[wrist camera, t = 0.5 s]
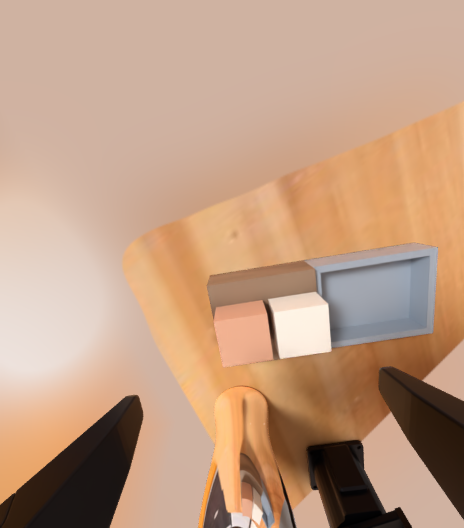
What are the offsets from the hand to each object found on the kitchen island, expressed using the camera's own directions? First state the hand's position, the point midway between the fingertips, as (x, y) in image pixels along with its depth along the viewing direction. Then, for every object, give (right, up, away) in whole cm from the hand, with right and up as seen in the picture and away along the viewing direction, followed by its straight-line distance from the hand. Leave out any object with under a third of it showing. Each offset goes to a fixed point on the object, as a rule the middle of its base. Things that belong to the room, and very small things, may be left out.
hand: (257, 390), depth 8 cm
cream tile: (+4, 0, +11) cm, 12 cm away
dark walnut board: (+2, +1, +14) cm, 14 cm away
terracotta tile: (0, -1, +11) cm, 11 cm away
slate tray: (+12, +2, +14) cm, 18 cm away
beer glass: (0, -12, +17) cm, 21 cm away
